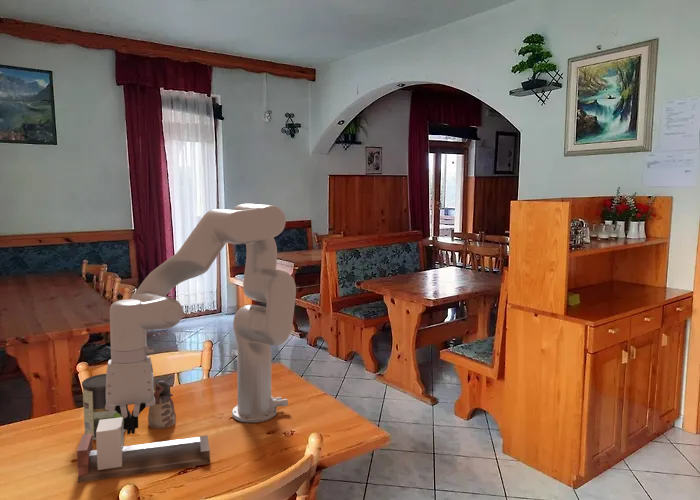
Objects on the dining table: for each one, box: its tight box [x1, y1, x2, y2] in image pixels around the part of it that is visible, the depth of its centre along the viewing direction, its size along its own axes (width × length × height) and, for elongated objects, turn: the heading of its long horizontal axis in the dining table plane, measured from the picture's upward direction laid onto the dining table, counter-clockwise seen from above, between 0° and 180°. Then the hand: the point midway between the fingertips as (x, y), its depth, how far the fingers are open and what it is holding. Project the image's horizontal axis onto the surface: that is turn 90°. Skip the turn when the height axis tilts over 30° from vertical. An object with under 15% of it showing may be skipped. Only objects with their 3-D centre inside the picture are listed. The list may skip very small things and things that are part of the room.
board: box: [76, 433, 211, 483], centre depth 124 cm, size 28×9×7 cm, turn 108°
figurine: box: [147, 380, 177, 430], centre depth 145 cm, size 7×7×12 cm
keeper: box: [95, 417, 125, 470], centre depth 121 cm, size 5×6×9 cm
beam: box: [89, 436, 200, 468], centre depth 124 cm, size 24×2×3 cm, turn 108°
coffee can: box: [81, 373, 127, 441], centre depth 139 cm, size 10×10×14 cm
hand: (131, 431), depth 123 cm, fingers closed
